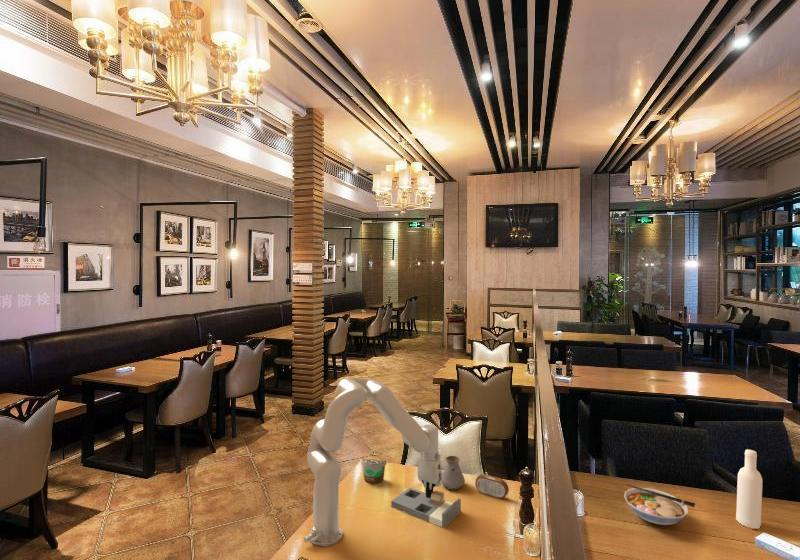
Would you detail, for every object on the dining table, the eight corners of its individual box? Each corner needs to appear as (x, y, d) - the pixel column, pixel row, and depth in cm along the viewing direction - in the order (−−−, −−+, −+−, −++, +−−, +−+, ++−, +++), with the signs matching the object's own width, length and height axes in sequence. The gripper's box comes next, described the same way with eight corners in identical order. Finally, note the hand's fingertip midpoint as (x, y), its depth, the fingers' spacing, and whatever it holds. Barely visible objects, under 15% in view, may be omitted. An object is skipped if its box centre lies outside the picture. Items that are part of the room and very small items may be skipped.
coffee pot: (440, 478, 214) (440, 448, 213) (464, 480, 212) (464, 449, 212) (439, 502, 192) (439, 468, 192) (466, 504, 191) (466, 470, 191)
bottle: (739, 527, 175) (742, 453, 174) (732, 517, 183) (735, 445, 181) (764, 532, 172) (767, 456, 171) (756, 521, 180) (759, 448, 179)
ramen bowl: (613, 518, 181) (613, 499, 181) (629, 497, 198) (630, 479, 197) (684, 545, 164) (685, 524, 164) (696, 519, 181) (696, 500, 180)
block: (439, 506, 185) (439, 496, 185) (431, 503, 187) (431, 493, 187) (444, 501, 188) (444, 492, 188) (435, 499, 191) (435, 490, 190)
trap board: (444, 528, 174) (444, 514, 174) (391, 506, 189) (391, 494, 189) (460, 511, 185) (460, 498, 185) (409, 492, 200) (409, 480, 200)
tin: (508, 498, 196) (509, 480, 196) (506, 501, 193) (506, 483, 193) (477, 489, 204) (477, 471, 204) (474, 492, 202) (474, 474, 201)
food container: (358, 483, 208) (358, 463, 208) (361, 477, 214) (361, 457, 214) (383, 486, 206) (384, 465, 206) (386, 479, 212) (386, 459, 212)
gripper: (449, 455, 188) (448, 498, 189) (419, 447, 197) (419, 487, 197) (440, 462, 182) (440, 506, 183) (410, 453, 190) (410, 495, 191)
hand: (429, 496), depth 190 cm, fingers closed
